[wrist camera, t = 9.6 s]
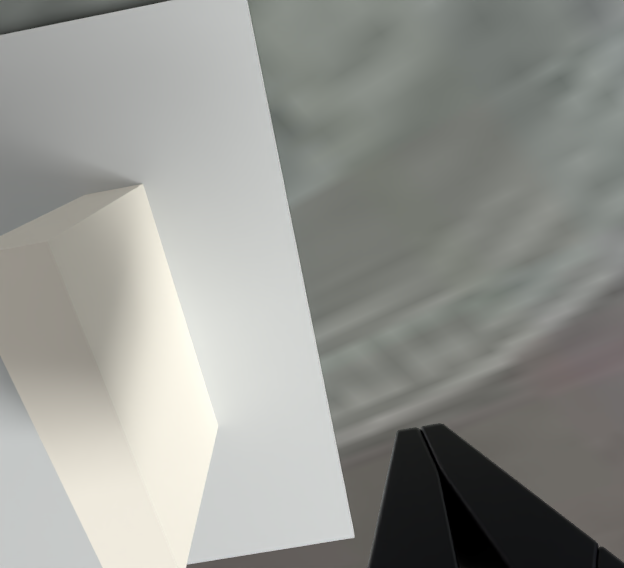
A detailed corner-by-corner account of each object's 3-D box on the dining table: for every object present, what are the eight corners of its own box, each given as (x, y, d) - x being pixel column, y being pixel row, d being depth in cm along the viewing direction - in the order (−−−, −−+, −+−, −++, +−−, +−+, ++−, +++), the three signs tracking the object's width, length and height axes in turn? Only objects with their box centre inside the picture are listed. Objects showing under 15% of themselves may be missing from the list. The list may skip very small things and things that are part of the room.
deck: (218, 426, 18) (183, 579, 12) (170, 434, 18) (113, 590, 12) (142, 183, 14) (47, 240, 9) (84, 194, 15) (-47, 259, 9)
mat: (353, 529, 20) (354, 537, 20) (-12, 588, 21) (-18, 597, 21) (245, -12, 13) (243, -15, 13) (-314, 101, 14) (-331, 101, 13)
